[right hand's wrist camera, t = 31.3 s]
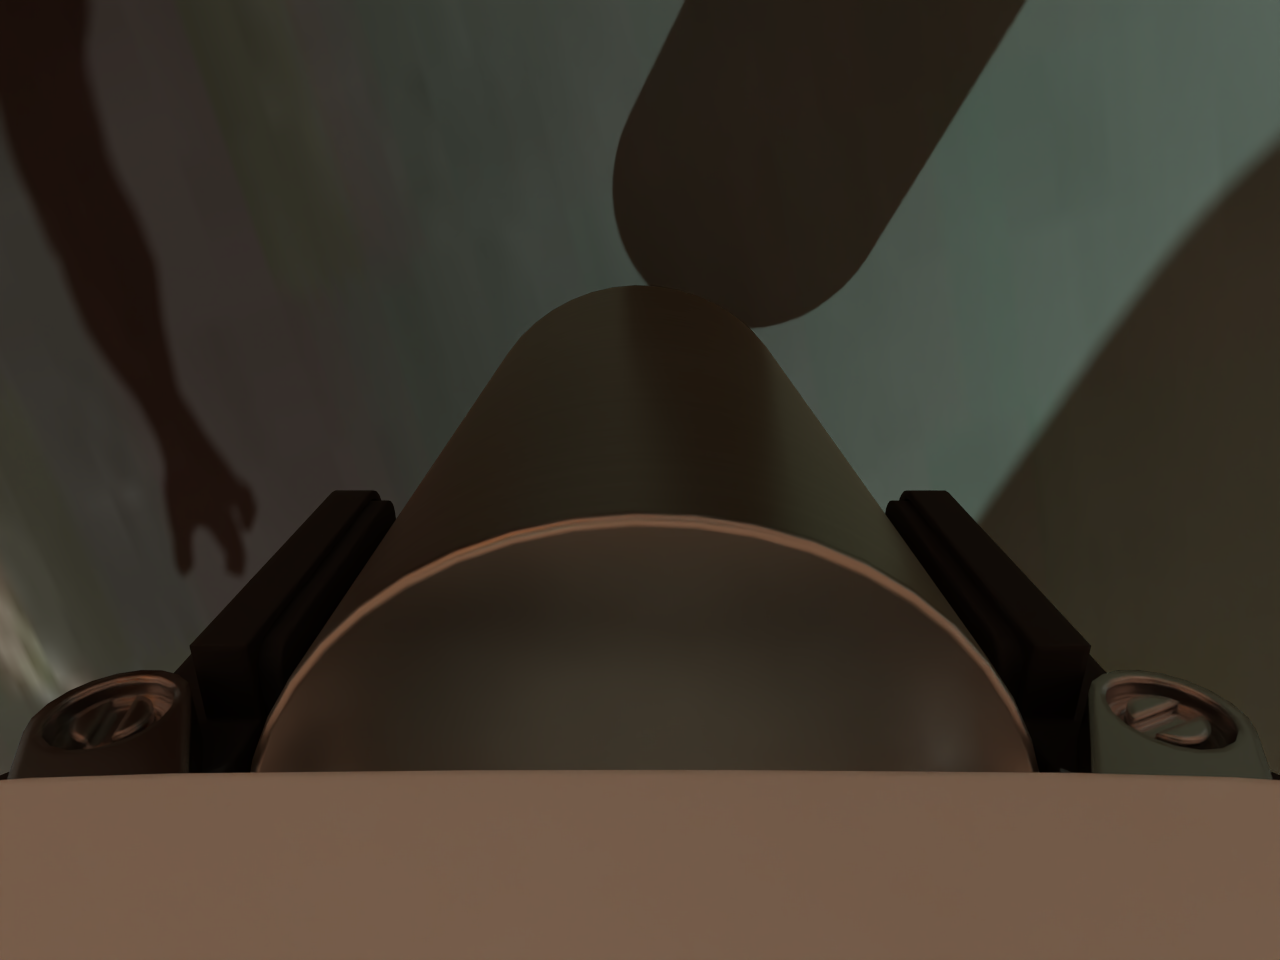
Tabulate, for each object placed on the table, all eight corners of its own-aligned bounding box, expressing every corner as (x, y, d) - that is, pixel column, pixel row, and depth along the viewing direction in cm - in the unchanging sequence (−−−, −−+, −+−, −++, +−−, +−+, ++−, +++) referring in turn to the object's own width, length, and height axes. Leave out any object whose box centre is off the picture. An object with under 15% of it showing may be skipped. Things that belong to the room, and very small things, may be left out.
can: (778, 260, 16) (1059, 447, 5) (807, 557, 19) (1042, 1097, 8) (450, 312, 17) (109, 589, 6) (520, 598, 19) (368, 1169, 8)
